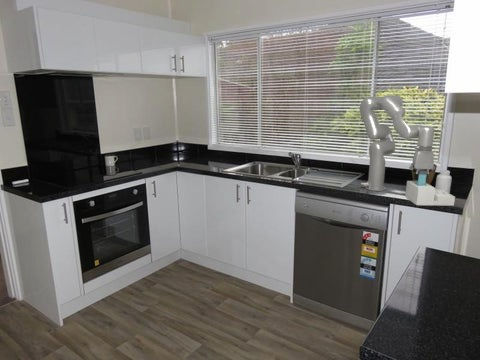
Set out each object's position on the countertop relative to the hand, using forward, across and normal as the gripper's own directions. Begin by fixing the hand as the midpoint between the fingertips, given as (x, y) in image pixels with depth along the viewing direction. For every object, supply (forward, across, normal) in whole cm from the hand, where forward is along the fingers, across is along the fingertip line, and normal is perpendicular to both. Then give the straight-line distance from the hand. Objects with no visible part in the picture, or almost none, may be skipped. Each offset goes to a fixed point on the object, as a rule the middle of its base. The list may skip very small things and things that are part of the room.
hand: (420, 180), depth 198 cm
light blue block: (+5, 0, 0) cm, 5 cm away
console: (+12, +6, 0) cm, 14 cm away
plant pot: (+13, +14, +28) cm, 34 cm away
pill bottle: (+13, +20, +14) cm, 27 cm away
